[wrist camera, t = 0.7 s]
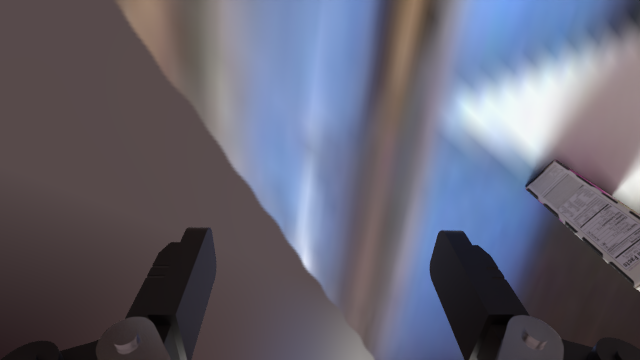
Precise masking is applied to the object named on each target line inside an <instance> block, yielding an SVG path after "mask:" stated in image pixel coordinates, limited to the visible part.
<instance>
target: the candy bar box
mask: <svg viewBox="0 0 640 360" xmlns="http://www.w3.org/2000/svg"><path fill="white" fill-rule="evenodd" d="M526 190H527V191H528V192H530V193H531V194H532V195H533V196H534V197H535V198H536V199H537V200H538V201H539V202H541V203H542V204H543V205H544V206H545V207H546V208H547V209H548V210H549V211H551V212H552V213H553V214H554V215H555V216H556V217H557V218H558V219H559V220H560V221H562V222H563V223H564V224H565V225H566V226H567V227H568V228H569V229H571V230H572V231H573V232H574V233H575V234H576V235H577V236H578V237H579V238H580V239H582V240H583V241H584V242H585V243H586V244H587V245H588V246H589V247H591V248H592V249H593V250H594V251H595V252H596V253H597V254H598V255H599V256H601V257H602V258H603V259H604V260H605V261H606V262H607V263H609V264H610V265H611V266H612V267H613V268H614V269H616V270H617V271H618V272H619V273H620V274H621V275H622V276H623V277H624V278H625V279H626V280H627V281H629V282H630V283H631V284H632V285H633V286H634V287H635V288H636V289H637V290H639V291H640V215H639V214H638V213H636V212H635V211H633V210H632V209H630V208H629V207H627V206H626V205H624V204H623V203H621V202H620V201H618V200H617V199H615V198H614V197H612V196H611V195H609V194H608V193H606V192H605V191H603V190H602V189H600V188H599V187H597V186H596V185H594V184H593V183H591V182H590V181H588V180H587V179H585V178H584V177H582V176H580V175H579V174H577V173H576V172H574V171H573V170H571V169H570V168H568V167H566V166H565V165H563V164H562V163H560V162H558V161H557V160H554V161H553V162H552V163H551V164H550V165H548V166H547V167H546V168H545V169H544V171H543V172H542V173H541V174H540V175H539V176H538V177H537V178H535V179H534V180H533V181H532V182H531V183H530V184H529V185H528V186H527V187H526Z"/></svg>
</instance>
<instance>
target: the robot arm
mask: <svg viewBox="0 0 640 360" xmlns="http://www.w3.org/2000/svg"><path fill="white" fill-rule="evenodd" d="M215 275H216V256H215V249H214V243H213V236H212V230H211V228H190V227H189V228H187V229H186V231H185V233H184V235H183V237H182V239H181V242H171V243H170V244H168V245H167V246H166V247H165V248H164V249H163V250H162V251H161V252H159V254H158V256H157V258H156V260H155V262H154V263H153V267H152V268H151V269H150V271H149V273H148V275H147V278H146V279H145V281H144V283H143V285H142V287H141V289H140V291H139V293H138V294H137V297H136V298H135V300H134V302H133V304H132V306H131V308H130V310H129V312H128V314H127V316H126V318H125V319H124V320H121V321H119V322H117V323H115V324H114V325H112V326H111V327H110V328H108V329H107V330H106V331H105V332H104V333H103V335H102V336H101V337H100V339H99V340H97V341H94V342H91V343H88V344H84V345H80V346H77V347H73V348H70V349H66V350H62V351H59V349H58V347H57V346H56V345H55V344H54V343H52V342H49V341H36V342H31V343H28V344H26V345H23V346H21V347H19V348H17V349H15V350H13V351H12V352H10V353H9V354H7V355H6V356H5V357H3V358H2V359H1V360H191V359H192V355H193V352H194V348H195V345H196V342H197V338H198V335H199V331H200V328H201V324H202V321H203V317H204V314H205V310H206V307H207V304H208V300H209V297H210V293H211V290H212V286H213V283H214V280H215ZM430 276H431V280H432V282H433V285H434V287H435V289H436V292H437V294H438V297H439V299H440V302H441V304H442V306H443V309H444V311H445V314H446V316H447V319H448V321H449V323H450V326H451V328H452V331H453V333H454V336H455V338H456V340H457V343H458V345H459V348H460V350H461V353H462V355H463V357H464V360H640V349H638V348H637V347H635V346H633V345H631V344H630V343H627V342H625V341H622V340H620V339H616V338H603V339H600V340H599V341H598V342H597V344H596V345H595V346H594V348H593V347H589V346H585V345H581V344H578V343H574V342H570V341H567V340H563V339H561V338H560V337H559V335H558V334H557V333H556V332H555V330H553V329H552V328H551V327H550V326H549V325H548V324H546V323H544V322H543V321H541V320H539V319H537V318H534V317H531V316H530V315H529V314H528V312H527V311H526V309H525V308H524V306H523V305H522V303H521V302H520V300H519V299H518V297H517V296H516V294H515V293H514V291H513V289H512V288H511V286H510V285H509V283H508V282H507V280H505V279H504V276H503V274H502V273H501V271H500V270H498V266H497V265H496V263H495V262H494V260H493V259H492V257H491V256H490V255H489V254H488V253H487V252H485V251H484V250H483V249H482V248H481V247H479V246H478V245H472V244H471V242H470V241H469V239H468V238H467V236H466V234H465V233H464V232H463V231H440V232H439V233H438V236H437V239H436V243H435V247H434V250H433V254H432V258H431V261H430Z"/></svg>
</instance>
